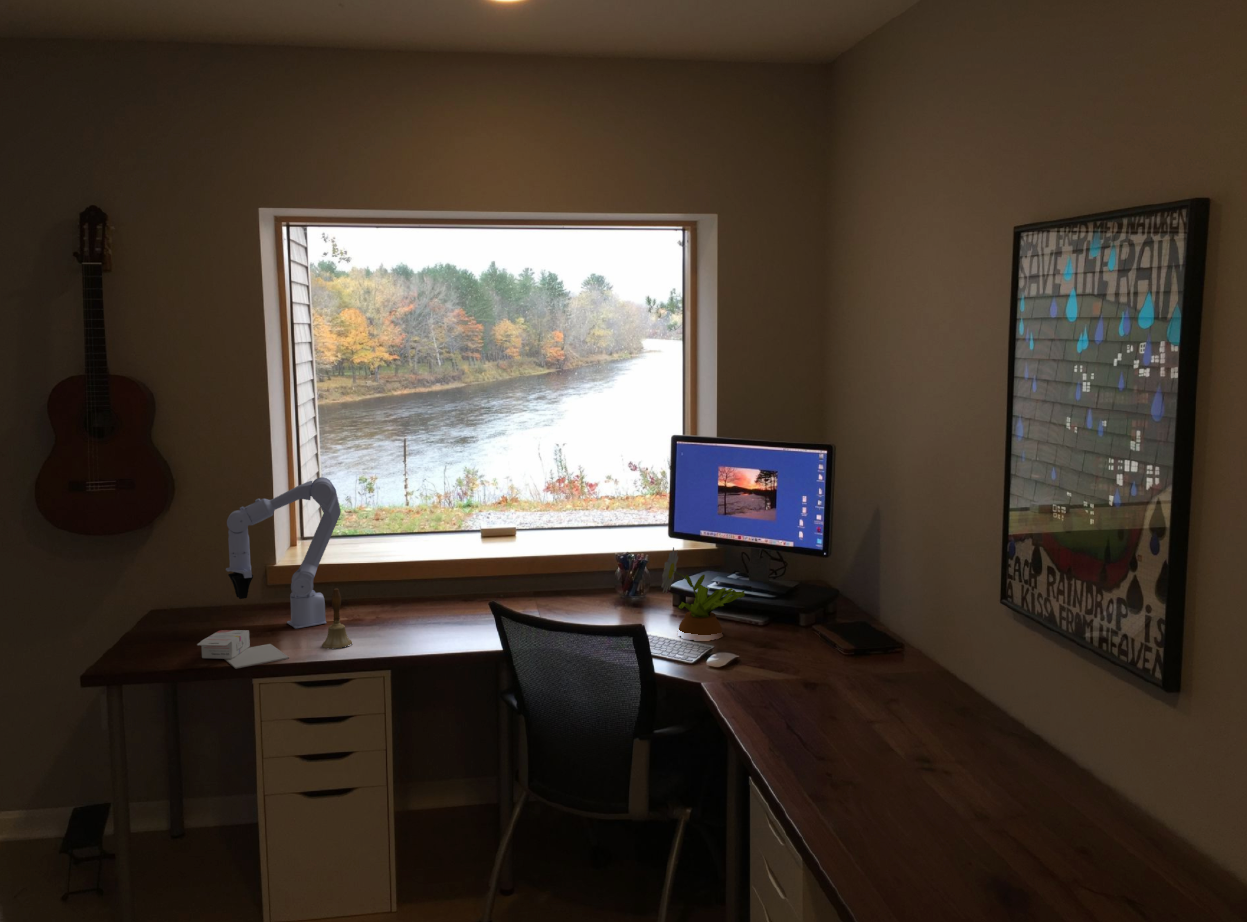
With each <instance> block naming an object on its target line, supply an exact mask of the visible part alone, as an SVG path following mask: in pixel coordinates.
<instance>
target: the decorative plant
mask: <svg viewBox="0 0 1247 922" xmlns="http://www.w3.org/2000/svg"><path fill="white" fill-rule="evenodd" d="M678 560H679V556H678V550H675V547H672V551H670V552H669V555H668V558H667V561H664V565H663V566H664V568H663V573H662V575H661V577H662V580H661V582H662V584H661V587H660V588H662V589H663V590H662V593H664V592H665V594H667V592H668V590H669V591H671V587H672V583H673V581H674V578H675V573H676V574H677V575H679V576H682V577H683V578H684V579H685V580H686V582H687V584H688V586H689V587H690V588H692V590H693V593H694V596H695V598H694V601H693V603H688V602H687V603H685V602H683V601H681V603H680V604H679V605H678V609H681V610H682V609H683V608H684V607H685V608H686V609H687V610H688V611H687V612H686V613H685V614H684V618H682V620H681V621H680V623H679V625H678V629H679V630H680V631H682V632H684V633H691V634H698V635H711V634H717V633H721V632H723V628H722V624H721V622H720V621H719V620H718V619H717V614H716V613H714V612H713V611H714V610H716V609H717V608H718V607H724V606H725V605H724V604H726V603H727V604H728V603H731V602H733V601H735V600H737V599H739V598H740V599H742V598H744V596H746V595H745V592H746V591H745V589H744V590H742V591H736V590H735V589H733V588H732V587H730V588H729V589H727V587H722V588H720V589H716V590H714V591H713V592H712V593H711V594H710V595H709V596H708V593H709V587H706V586H704V585H703V581H704V580H705V577H706V575H705V574H701V576H700V577H699V578H698V579H697V580H696V581H695V583H694V585H693V581H692V579H691V577H690V576H689V575H688V574H686V575H683V574H682V573H679V572H677V563H678Z"/></svg>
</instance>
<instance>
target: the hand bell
mask: <svg viewBox="0 0 1247 922" xmlns="http://www.w3.org/2000/svg"><path fill="white" fill-rule="evenodd" d="M331 594H332V595H331V607H332V611H333V620H332V624H331V625H328V630H327V631H328V632H327V635H326V638H325V639H324V641H323V642H322V644H321V647H322V648H323V649H327V648H329V649H328V650H330V649H331V650H336V649H335V648H340V649H343V648H342V647H345V646H348V645H350V644H352V642H353V641H352V639H350V638H349V637H348V634H347V630H346V626H345V624H343V623H341V619H340V616H341V615H340V609H341V605H342V595H341V593H340V590H339V588H334V589H333V592H332V593H331ZM352 645H353V644H352ZM332 648H334V649H332Z"/></svg>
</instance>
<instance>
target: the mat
mask: <svg viewBox="0 0 1247 922" xmlns="http://www.w3.org/2000/svg"><path fill="white" fill-rule="evenodd" d="M288 659H290V657H289V655H286V653H284V652H283V651H282V650H280V649H279V648H277V647H276V646H274V645H273V644H272V643H267V644H262V645H255V646H250V647H248V648H247V649H245V650H244V651H242V652H241V653H239V654H238V655H236V656H235V657H233V658H232V659H224V661H226V662H227V663H228V664H230V666H231V667H233V668H234V669H236V670H237V669H241V668H242V669H243V668H246V667H251V666H258V665H261V664H267V663H271V662H272V663H273V662H277V661H283V660H284V661H285V660H288Z"/></svg>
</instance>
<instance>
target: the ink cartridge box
mask: <svg viewBox="0 0 1247 922" xmlns="http://www.w3.org/2000/svg"><path fill="white" fill-rule="evenodd" d="M250 644H251V641H250V630H246V629H245V630H244V629H243V630H240V629H239V630H238V629H234V630H233V629H231V630H230V629H224V630H222V629H221V630H218V631H216V632H214V633H213V634H211V635H209V636H208V637H205V638H204V639H202V640H200V642H198V643H196V646H201V658H202V659H217V660H218V659H220V660H221V659H222V660H223V659H224V660H225V659H232V658H233V657H235V656H236V655H238V654H239V653H241V652H242V651H244V650H245V649H247V648H250V647H251V645H250Z"/></svg>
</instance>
